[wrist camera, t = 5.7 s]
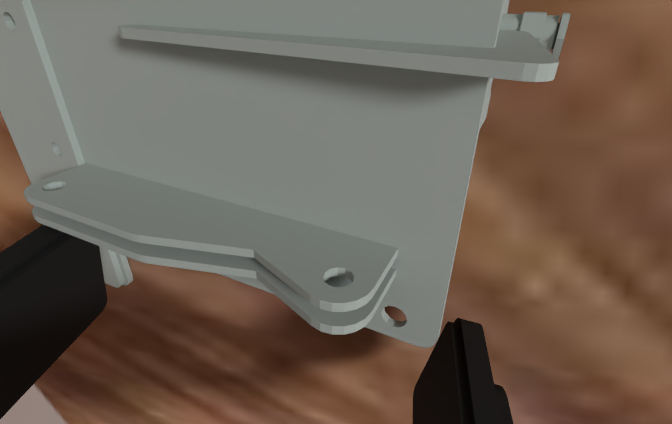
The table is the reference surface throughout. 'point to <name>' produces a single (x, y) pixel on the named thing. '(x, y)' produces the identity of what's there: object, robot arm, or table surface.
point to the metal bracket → (267, 138)
